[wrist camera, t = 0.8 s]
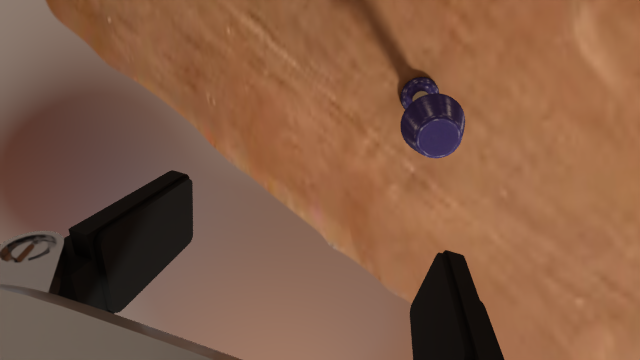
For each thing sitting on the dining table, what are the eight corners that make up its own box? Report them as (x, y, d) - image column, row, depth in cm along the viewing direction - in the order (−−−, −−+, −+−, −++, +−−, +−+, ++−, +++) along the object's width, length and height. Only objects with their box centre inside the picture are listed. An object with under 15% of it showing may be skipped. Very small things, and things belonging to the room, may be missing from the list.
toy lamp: (429, 122, 35) (461, 177, 20) (390, 113, 35) (394, 160, 20) (444, 81, 32) (493, 108, 18) (403, 72, 33) (417, 91, 18)
